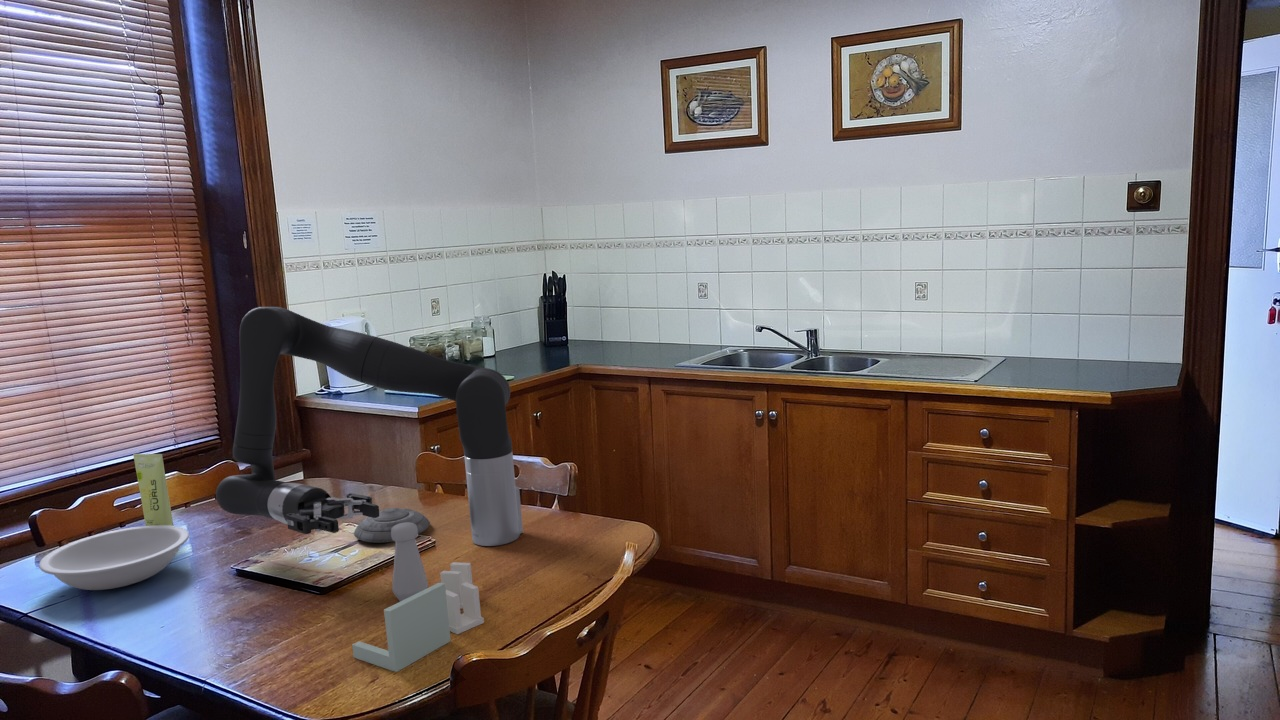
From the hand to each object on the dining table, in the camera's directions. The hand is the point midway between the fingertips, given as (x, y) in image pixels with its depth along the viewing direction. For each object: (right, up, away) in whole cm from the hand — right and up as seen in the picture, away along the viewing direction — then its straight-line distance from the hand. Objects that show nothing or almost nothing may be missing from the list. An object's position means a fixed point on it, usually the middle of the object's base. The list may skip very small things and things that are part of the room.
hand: (357, 519), depth 155 cm
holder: (+13, -15, -22) cm, 29 cm away
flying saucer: (-2, -8, +29) cm, 30 cm away
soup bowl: (-47, -14, +12) cm, 51 cm away
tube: (-50, -11, +30) cm, 59 cm away
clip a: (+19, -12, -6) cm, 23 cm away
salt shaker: (+10, -13, -4) cm, 17 cm away
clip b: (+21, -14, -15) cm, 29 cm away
